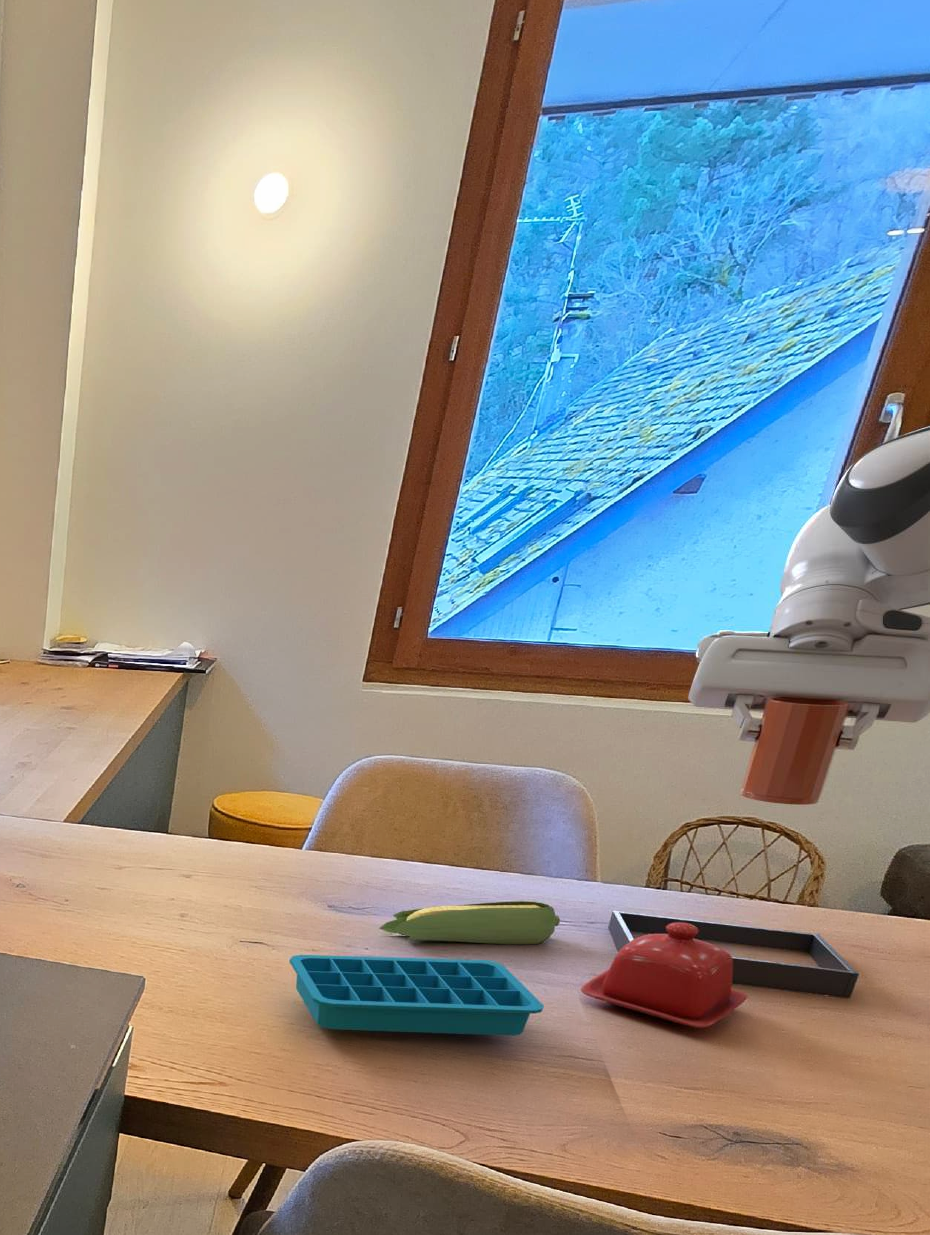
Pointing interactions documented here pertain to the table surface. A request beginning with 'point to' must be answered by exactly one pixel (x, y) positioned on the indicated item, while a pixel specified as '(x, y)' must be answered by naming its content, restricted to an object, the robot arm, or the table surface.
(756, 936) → the tray
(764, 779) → the cup
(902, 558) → the robot arm
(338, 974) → the ice cube tray
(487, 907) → the edible corn
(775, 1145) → the table surface
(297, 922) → the table surface
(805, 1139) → the table surface
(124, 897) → the table surface
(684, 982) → the butter dish
